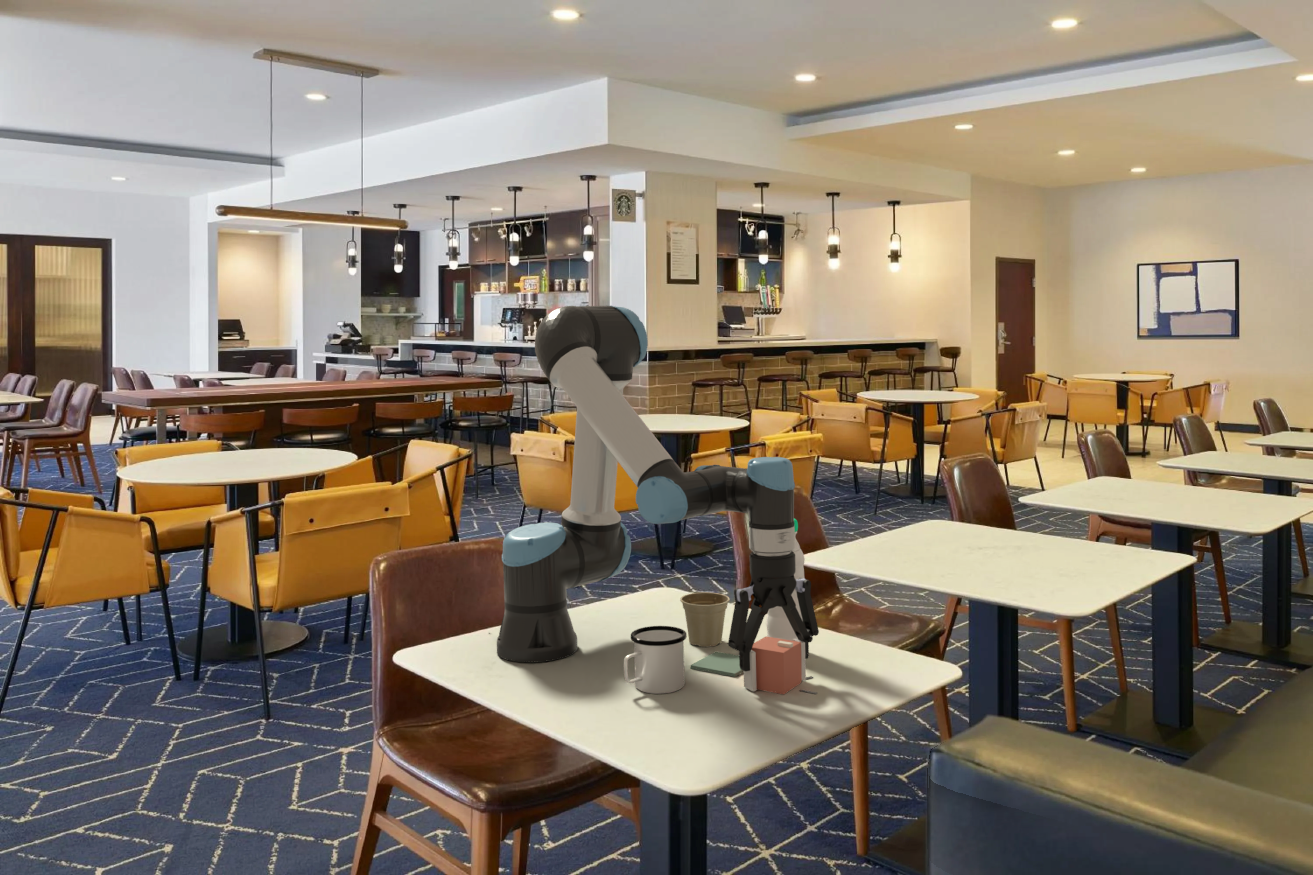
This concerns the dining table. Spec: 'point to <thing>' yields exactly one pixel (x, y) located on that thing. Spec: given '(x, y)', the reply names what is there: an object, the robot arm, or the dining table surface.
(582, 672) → the dining table surface
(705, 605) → the flower pot
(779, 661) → the orange box with tab
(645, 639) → the mug
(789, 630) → the water bottle
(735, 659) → the pad
